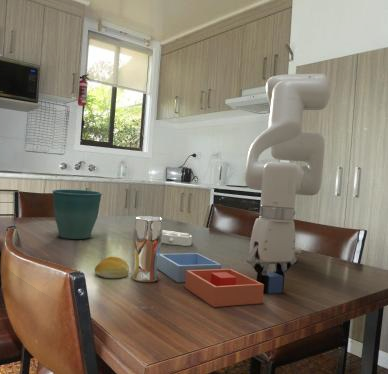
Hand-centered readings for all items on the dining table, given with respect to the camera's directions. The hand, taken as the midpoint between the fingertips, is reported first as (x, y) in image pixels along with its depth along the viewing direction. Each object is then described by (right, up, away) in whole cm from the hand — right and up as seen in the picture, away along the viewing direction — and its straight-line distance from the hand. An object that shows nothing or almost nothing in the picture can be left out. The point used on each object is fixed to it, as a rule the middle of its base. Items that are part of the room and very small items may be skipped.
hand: (269, 289), depth 89 cm
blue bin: (-18, +1, +9) cm, 21 cm away
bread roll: (-38, +2, +5) cm, 38 cm away
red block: (-13, +1, -6) cm, 14 cm away
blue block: (0, 0, 0) cm, 0 cm away
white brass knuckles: (-19, +3, +53) cm, 57 cm away
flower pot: (-55, +6, +49) cm, 74 cm away
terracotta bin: (-13, 0, -6) cm, 14 cm away
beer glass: (-30, +2, +2) cm, 30 cm away
